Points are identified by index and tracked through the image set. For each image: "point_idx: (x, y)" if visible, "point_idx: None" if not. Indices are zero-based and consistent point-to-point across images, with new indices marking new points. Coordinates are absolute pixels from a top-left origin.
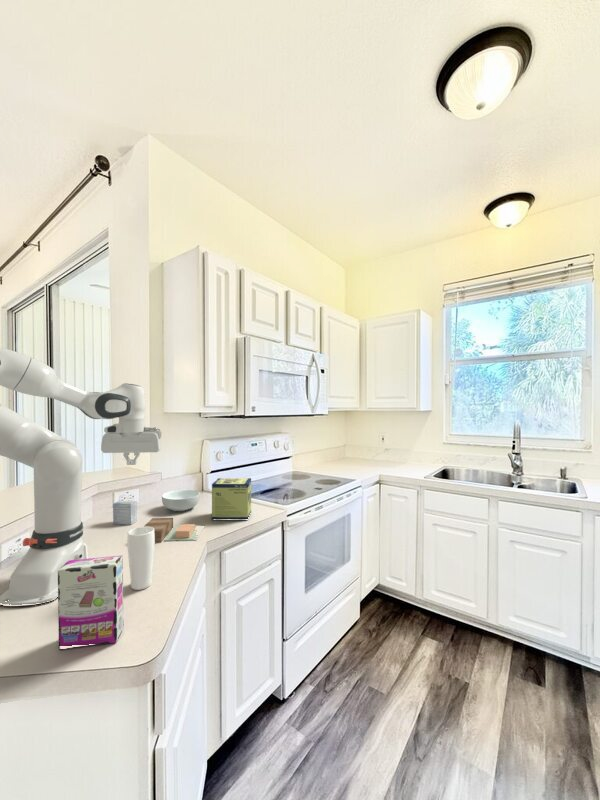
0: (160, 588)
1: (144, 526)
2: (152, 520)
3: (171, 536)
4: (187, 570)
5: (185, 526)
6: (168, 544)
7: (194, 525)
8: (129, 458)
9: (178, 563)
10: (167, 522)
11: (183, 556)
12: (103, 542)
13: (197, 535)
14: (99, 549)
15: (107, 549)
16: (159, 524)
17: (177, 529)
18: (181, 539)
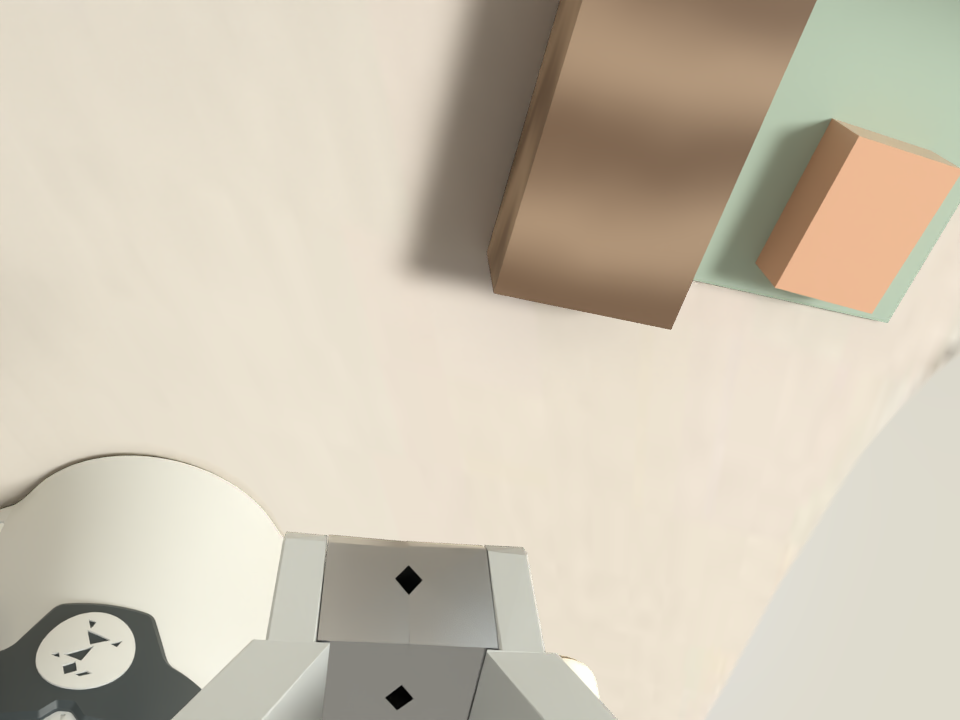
0: (624, 702)
1: (537, 183)
2: (606, 14)
3: (732, 222)
4: (742, 619)
5: (874, 203)
6: (694, 333)
7: (952, 177)
8: (305, 677)
9: (715, 560)
10: (744, 133)
11: (752, 502)
12: (207, 160)
13: (914, 257)
14: (232, 289)
15: (291, 304)
16: (668, 169)
17: (797, 254)
18: (790, 300)
